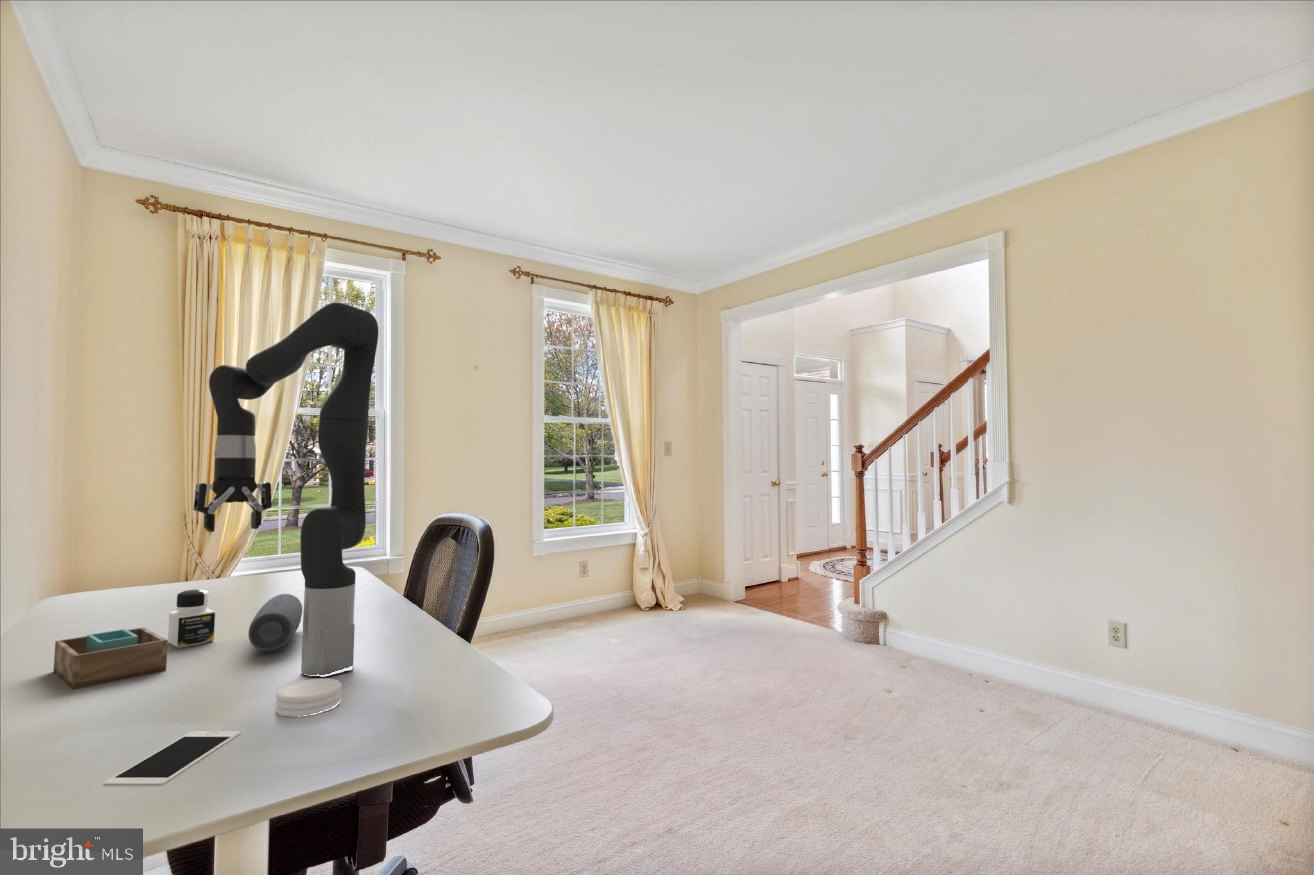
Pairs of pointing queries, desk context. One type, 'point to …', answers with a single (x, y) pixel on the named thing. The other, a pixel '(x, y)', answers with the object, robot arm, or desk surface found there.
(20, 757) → the desk surface
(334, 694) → the coaster
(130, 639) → the small teal crate
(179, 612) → the medicine bottle
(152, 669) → the walnut crate
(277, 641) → the bluetooth speaker
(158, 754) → the cell phone
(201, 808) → the desk surface
